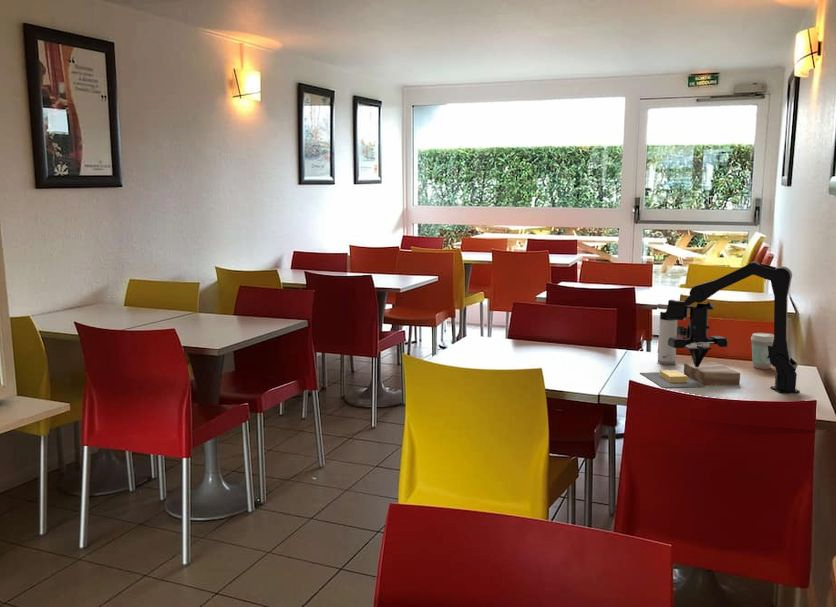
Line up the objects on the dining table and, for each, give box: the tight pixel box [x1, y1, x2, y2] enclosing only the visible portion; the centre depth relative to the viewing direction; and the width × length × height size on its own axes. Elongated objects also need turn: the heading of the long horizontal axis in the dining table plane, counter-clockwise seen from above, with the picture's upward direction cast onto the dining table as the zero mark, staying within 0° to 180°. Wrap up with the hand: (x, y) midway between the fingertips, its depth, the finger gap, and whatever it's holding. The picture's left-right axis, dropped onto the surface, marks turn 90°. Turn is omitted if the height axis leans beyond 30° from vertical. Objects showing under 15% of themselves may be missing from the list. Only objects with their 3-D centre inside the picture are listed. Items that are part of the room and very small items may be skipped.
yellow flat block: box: [659, 369, 688, 382], centre depth 253 cm, size 9×6×2 cm, turn 4°
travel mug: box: [657, 311, 678, 366], centre depth 277 cm, size 6×7×20 cm
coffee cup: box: [750, 332, 774, 370], centre depth 271 cm, size 8×8×12 cm
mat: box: [639, 371, 705, 389], centre depth 253 cm, size 20×14×1 cm
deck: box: [683, 361, 741, 387], centre depth 254 cm, size 16×12×4 cm
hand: (696, 366), depth 253 cm, fingers closed
